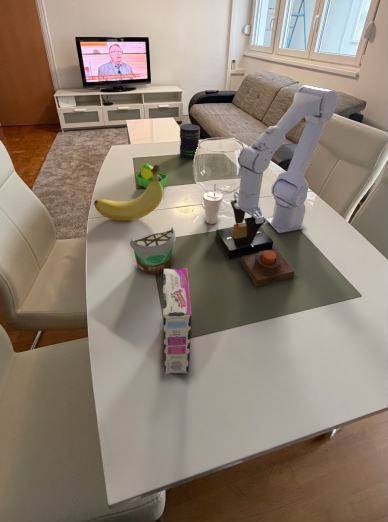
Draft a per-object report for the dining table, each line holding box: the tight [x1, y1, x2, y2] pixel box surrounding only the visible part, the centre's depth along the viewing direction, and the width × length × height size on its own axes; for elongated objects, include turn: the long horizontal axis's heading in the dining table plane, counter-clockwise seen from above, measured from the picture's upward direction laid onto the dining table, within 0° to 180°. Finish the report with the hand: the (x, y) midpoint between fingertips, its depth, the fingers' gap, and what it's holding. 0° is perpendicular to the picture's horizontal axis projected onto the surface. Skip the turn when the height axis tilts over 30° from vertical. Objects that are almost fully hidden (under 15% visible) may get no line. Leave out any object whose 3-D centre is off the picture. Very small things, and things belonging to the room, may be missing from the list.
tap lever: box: [232, 222, 247, 239], centre depth 88 cm, size 7×2×4 cm, turn 108°
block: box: [240, 249, 296, 287], centre depth 80 cm, size 11×9×4 cm
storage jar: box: [179, 123, 201, 160], centre depth 148 cm, size 10×10×15 cm
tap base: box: [215, 226, 274, 259], centre depth 90 cm, size 14×11×3 cm
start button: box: [261, 250, 276, 264], centre depth 79 cm, size 4×4×2 cm
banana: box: [93, 164, 164, 221], centre depth 96 cm, size 23×6×20 cm, turn 92°
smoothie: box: [202, 183, 223, 225], centre depth 98 cm, size 6×6×14 cm
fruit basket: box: [135, 163, 169, 189], centre depth 118 cm, size 11×9×11 cm
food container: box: [129, 227, 177, 275], centre depth 78 cm, size 12×6×10 cm, turn 117°
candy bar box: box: [162, 267, 192, 375], centre depth 57 cm, size 11×5×16 cm, turn 5°
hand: (244, 230), depth 88 cm, fingers open, 7 cm apart
